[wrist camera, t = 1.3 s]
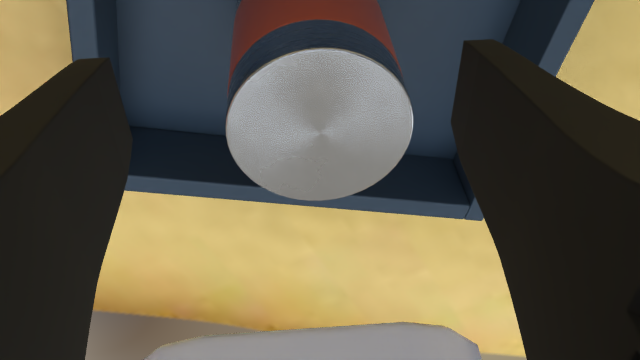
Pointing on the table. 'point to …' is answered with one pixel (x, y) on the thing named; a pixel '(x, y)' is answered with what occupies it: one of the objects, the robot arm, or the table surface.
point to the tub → (213, 76)
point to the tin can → (315, 97)
